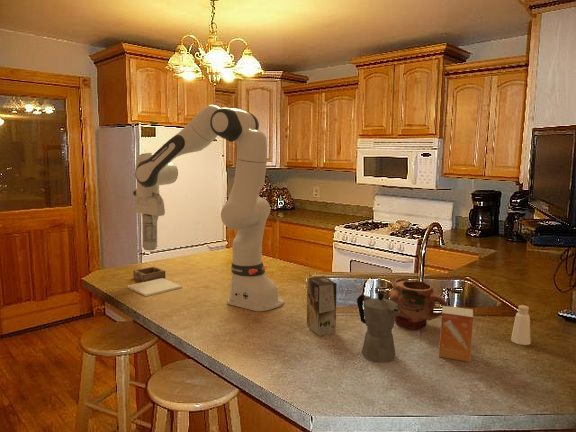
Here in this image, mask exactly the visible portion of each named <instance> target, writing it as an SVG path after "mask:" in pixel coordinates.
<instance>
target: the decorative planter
mask: <svg viewBox="0 0 576 432" xmlns="http://www.w3.org/2000/svg"><path fill="white" fill-rule="evenodd" d="M388 298H389V300H392V301H394V302H395V303H396V304H398V309H399V310H400V313H399V314H397V315H396V318H395V324H396V325H397V326H398V327H400V328H402V329H405V330H408V331H420V330H422V329H424V328H426V326H427V322H428V321H431V320H435V319H437V318H439V317H442V311H440V312H438V313H435V311H434V310H435V309H434V308H435V307H436V303H440V305H441V306H442V308H443V306H448V303H447V301H446V299H445V298H444V297H442V296H441V295H438V294H435V293H434V288H433V287H432V286H431V284H429V283H427V282H424V281H421V280H401V281H397V282H395V283H394V284H393V286H392V290H389V292H388ZM442 308H441V309H442Z"/></svg>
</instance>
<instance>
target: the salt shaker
mask: <svg viewBox="0 0 576 432" xmlns="http://www.w3.org/2000/svg"><path fill="white" fill-rule="evenodd" d="M517 308H518V309H517V310H518V311H517V312H515V313H516V314H515V318H514V323H513V327H512V328H513V329H512V332H511V337H510V338H511V339H510V340H511V342H512V343H515V344H516V345H520V346H521V345H522V346H528V345H531V318H530V314H529V310H530V307H529V306H527V305H523V304H520V305H518V306H517Z"/></svg>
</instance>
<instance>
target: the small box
mask: <svg viewBox="0 0 576 432" xmlns="http://www.w3.org/2000/svg"><path fill="white" fill-rule="evenodd" d="M441 309H442V310H441V312H442V315H441V320H440V335H439V351H438V358H443V359H444V358H445V359H448V360H449V359H451V360H456V361H462V362H467V363H470V362H471V354H472V353H471V351H472V340H473V339H472V338H473V326H474V309H471V308H463V307H457V306H456V307H455V306H449V305H447V306H443V308H441Z"/></svg>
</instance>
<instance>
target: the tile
mask: <svg viewBox="0 0 576 432" xmlns="http://www.w3.org/2000/svg"><path fill="white" fill-rule="evenodd" d="M127 289H130V290H132V291H133V292H136V293H138V294H140V295H141V296H143V297H151V296H154V295H158V294H162V293H166V292H171V291H175V290H179V289H183V285H181V284H178V283H177V282H176V283H175V282H173V281H171V280H169V279H166V278H165V279H164V278H160V279H156V280H151V281H147V282H137V283H133V284H129V285H127Z"/></svg>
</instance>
